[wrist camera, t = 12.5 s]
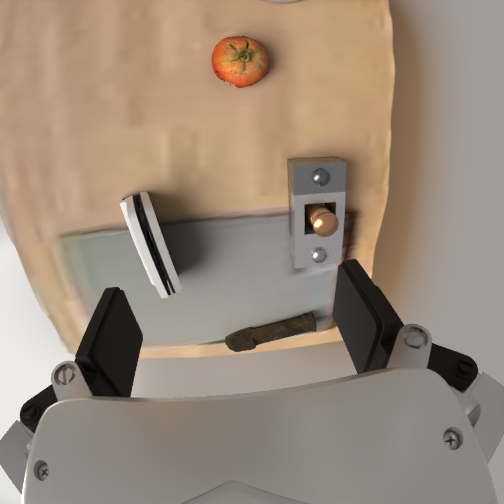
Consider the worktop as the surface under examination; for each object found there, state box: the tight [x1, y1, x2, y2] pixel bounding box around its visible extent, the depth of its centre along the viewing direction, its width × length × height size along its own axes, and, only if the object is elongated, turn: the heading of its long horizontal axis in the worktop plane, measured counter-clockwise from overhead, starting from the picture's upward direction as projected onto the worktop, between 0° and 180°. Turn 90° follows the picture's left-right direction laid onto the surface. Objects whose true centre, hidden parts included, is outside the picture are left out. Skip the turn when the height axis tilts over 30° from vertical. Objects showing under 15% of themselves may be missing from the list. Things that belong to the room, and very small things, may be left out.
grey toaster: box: [120, 191, 183, 298], centre depth 42 cm, size 17×5×10 cm, turn 10°
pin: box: [304, 203, 339, 237], centre depth 42 cm, size 4×4×7 cm
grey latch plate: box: [287, 157, 347, 268], centre depth 43 cm, size 17×8×5 cm, turn 5°
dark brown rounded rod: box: [225, 312, 316, 352], centre depth 56 cm, size 19×4×5 cm, turn 101°
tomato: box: [212, 36, 269, 88], centre depth 31 cm, size 8×7×7 cm
